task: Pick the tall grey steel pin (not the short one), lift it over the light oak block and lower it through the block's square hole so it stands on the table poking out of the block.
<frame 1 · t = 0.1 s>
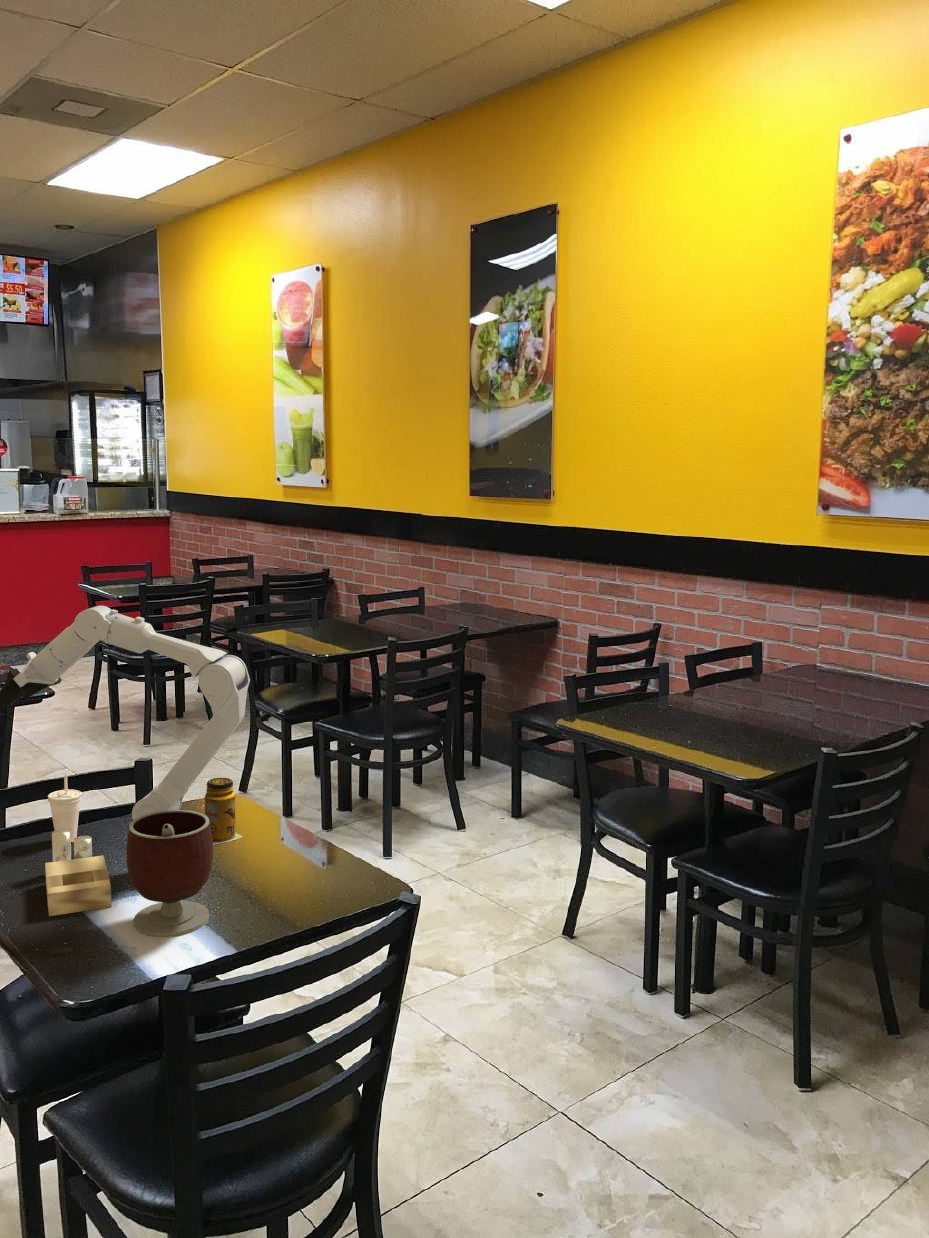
hand: (10, 699, 186), 32 cm above the table, tool tilted 50°, fingers open, 7 cm apart
condiment: (216, 838, 206), on the table
smoothie: (66, 841, 202), on the table
pin block: (77, 895, 177), on the table
tall pin: (62, 873, 186), on the table
short pin: (83, 858, 193), on the table
mate gourd: (171, 923, 168), on the table
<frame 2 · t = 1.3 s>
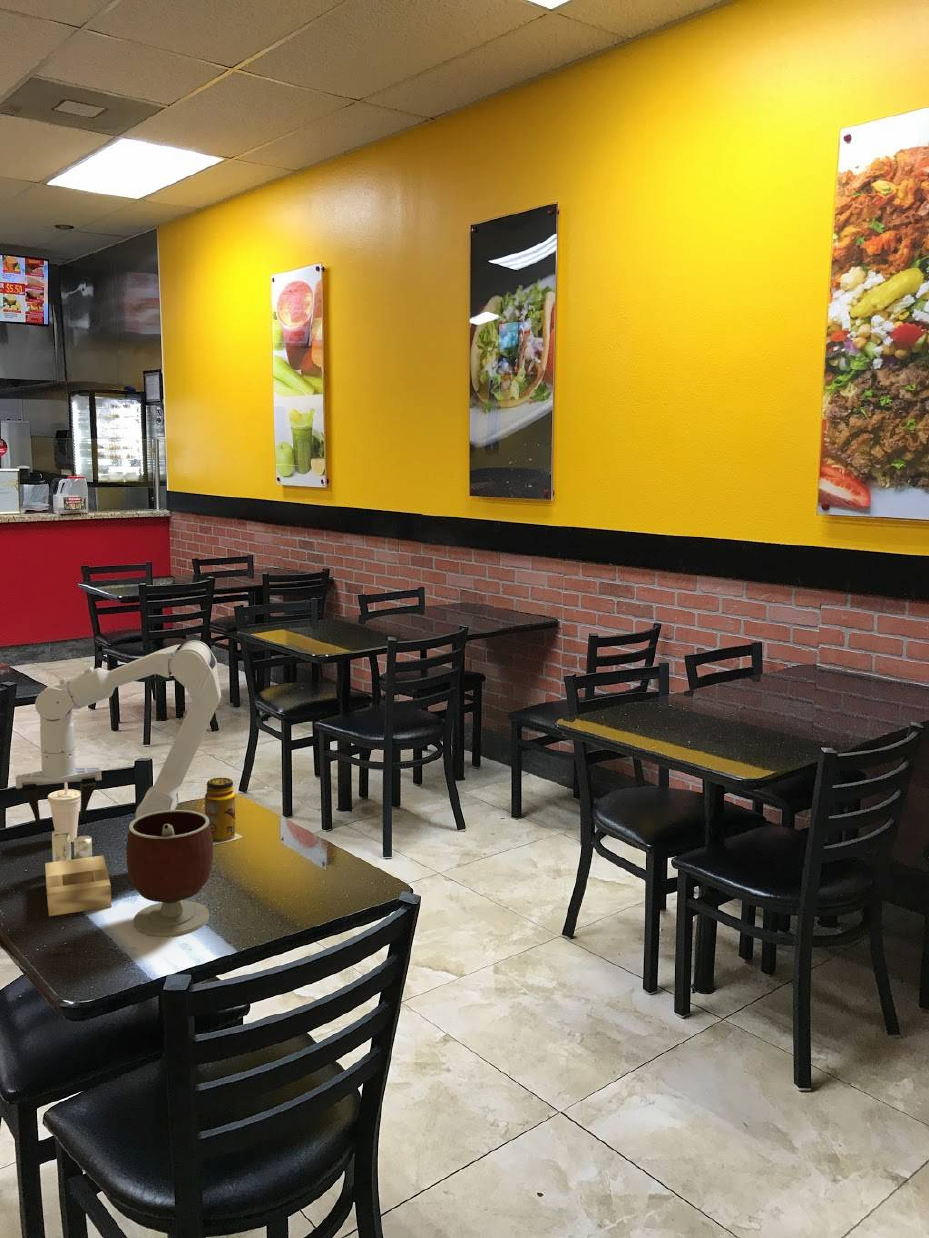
hand: (60, 820, 185), 10 cm above the table, tool pointing down, fingers open, 7 cm apart
nothing on the table moved.
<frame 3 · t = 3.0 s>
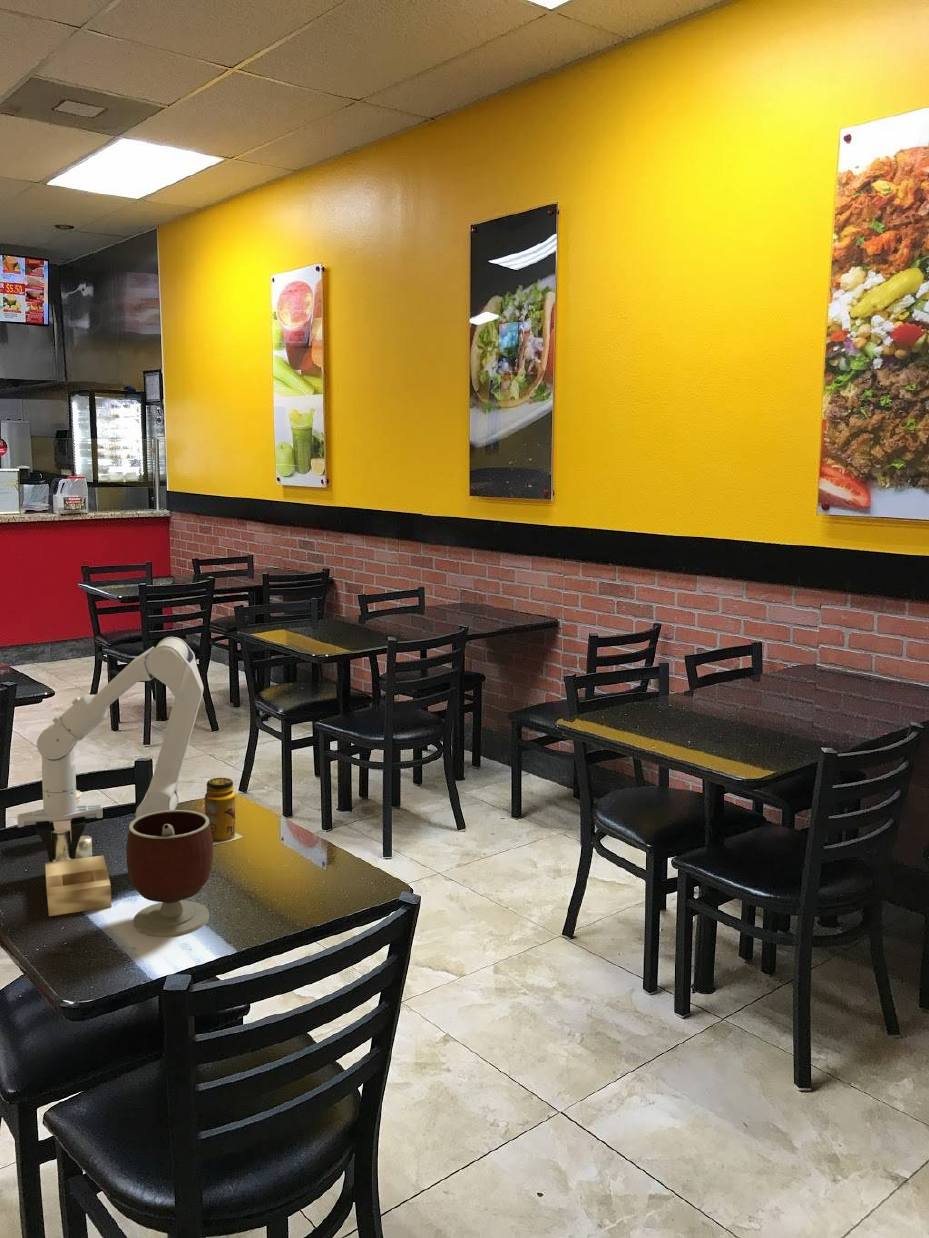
hand: (62, 858, 186), 3 cm above the table, tool pointing down, fingers closed on tall pin, 3 cm apart
tall pin: (62, 873, 186), on the table, touching gripper
everything else where it was.
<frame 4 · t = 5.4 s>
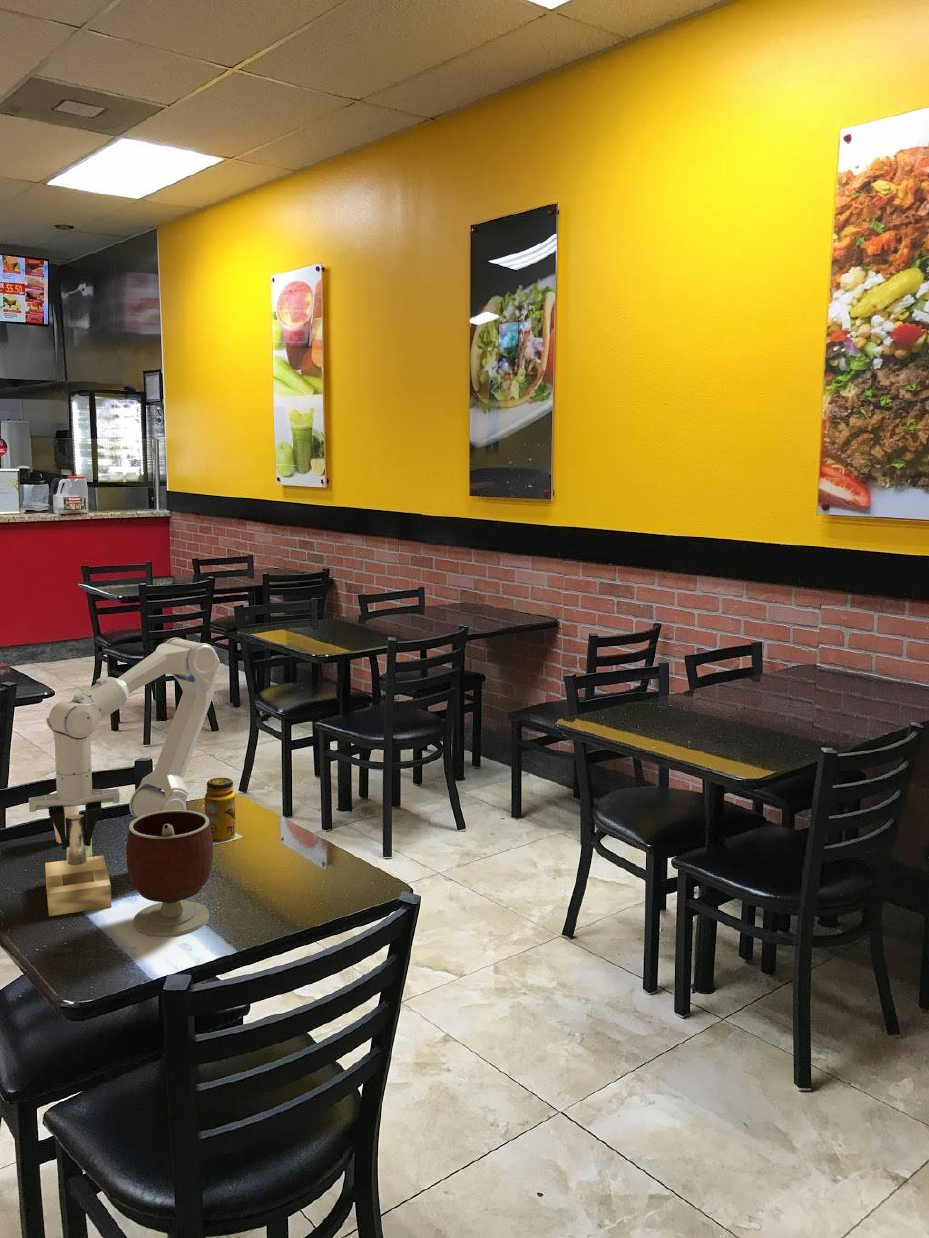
hand: (76, 845, 174), 10 cm above the table, tool pointing down, fingers closed on tall pin, 3 cm apart
tall pin: (76, 861, 174), point 7 cm above the table, touching gripper
everything else where it was.
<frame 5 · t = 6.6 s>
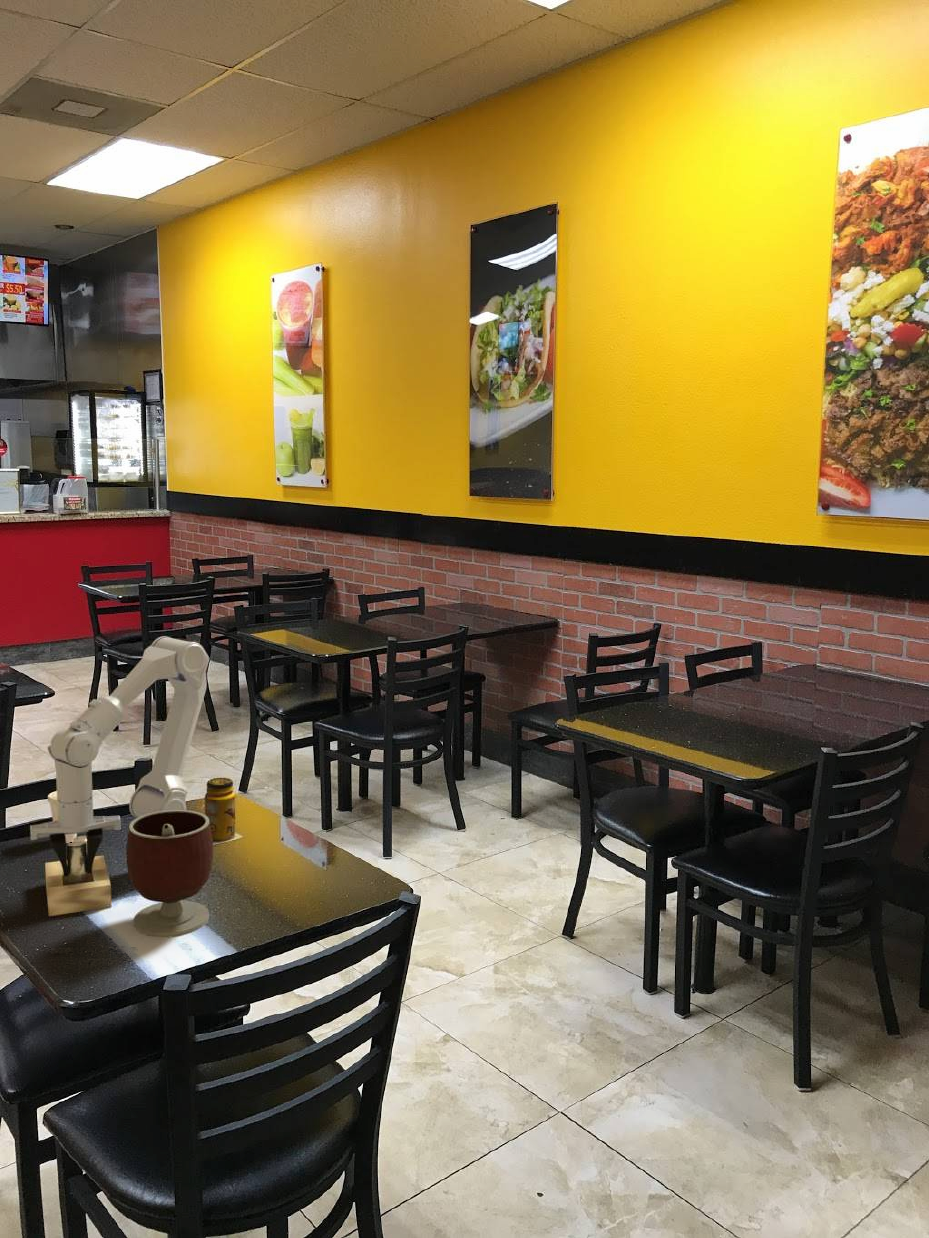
hand: (77, 872, 175), 5 cm above the table, tool pointing down, fingers closed on tall pin, 3 cm apart
tall pin: (78, 888, 175), point 2 cm above the table, touching gripper
everything else where it was.
when the fingers open (5 cm above the table, at t = 7.6 s): tall pin drops 2 cm, resting in pin block.
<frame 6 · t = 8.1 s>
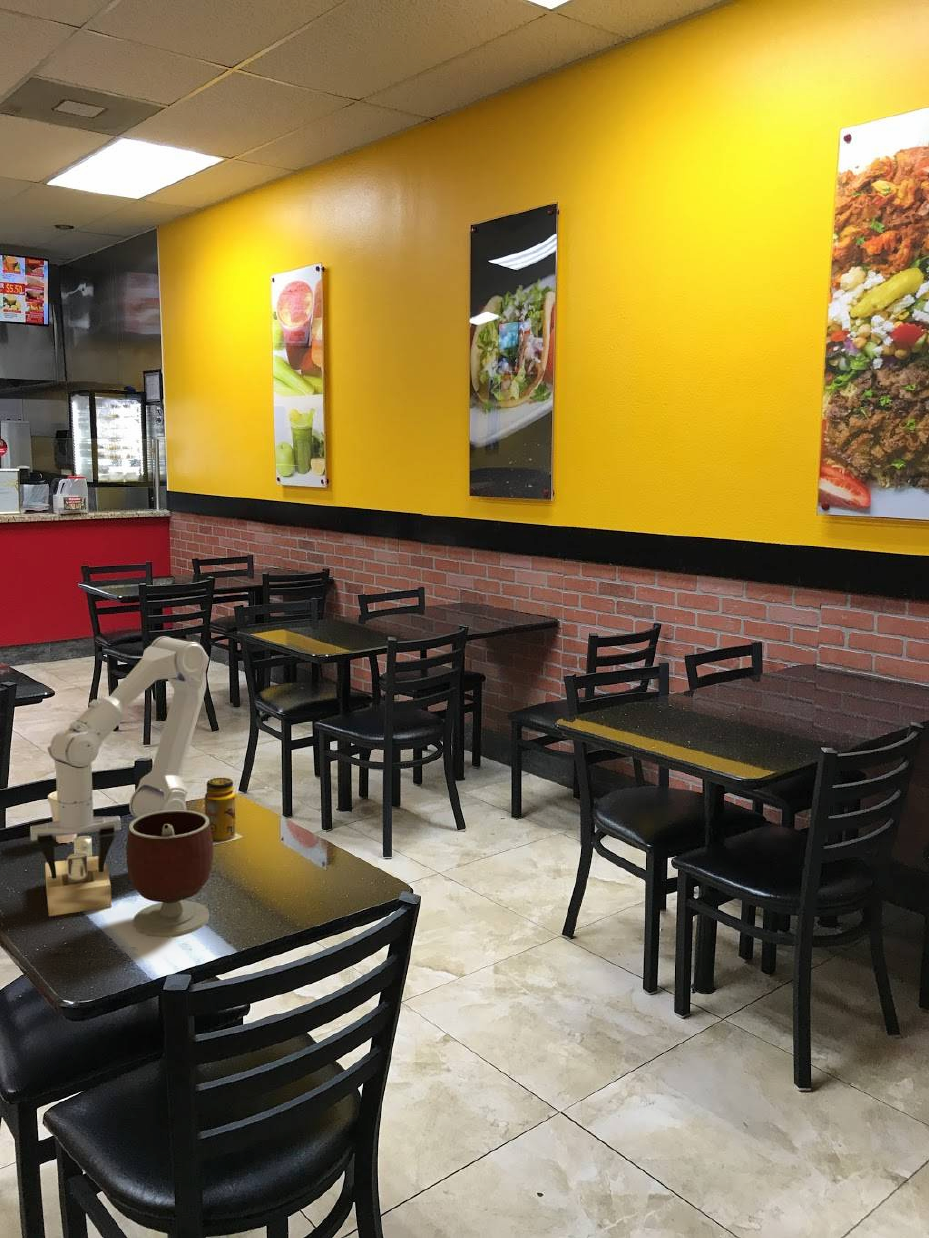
hand: (77, 873, 175), 5 cm above the table, tool pointing down, fingers open, 7 cm apart
tall pin: (78, 899, 175), resting in pin block
everything else where it was.
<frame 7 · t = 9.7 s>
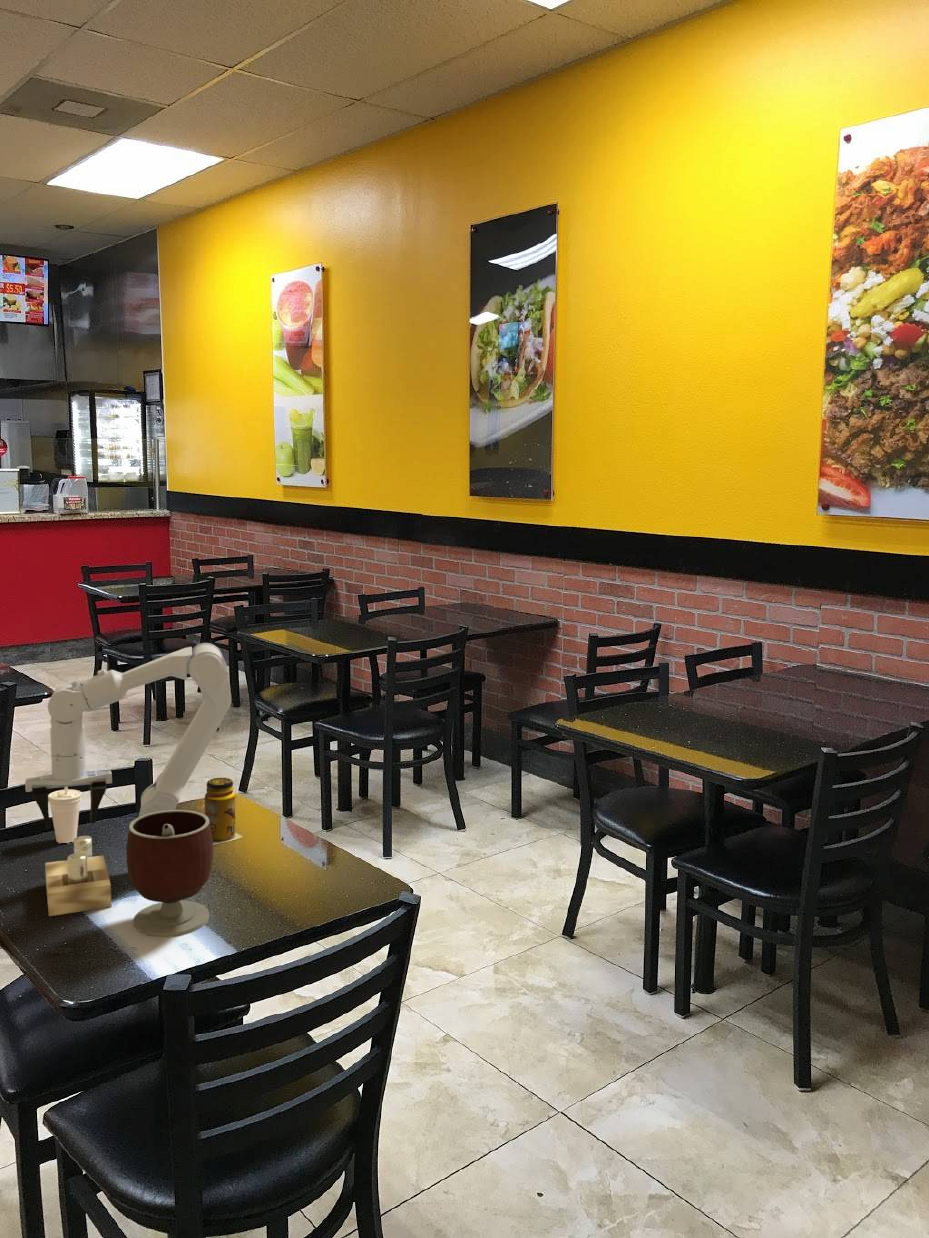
hand: (70, 824, 183), 10 cm above the table, tool pointing down, fingers open, 7 cm apart
nothing on the table moved.
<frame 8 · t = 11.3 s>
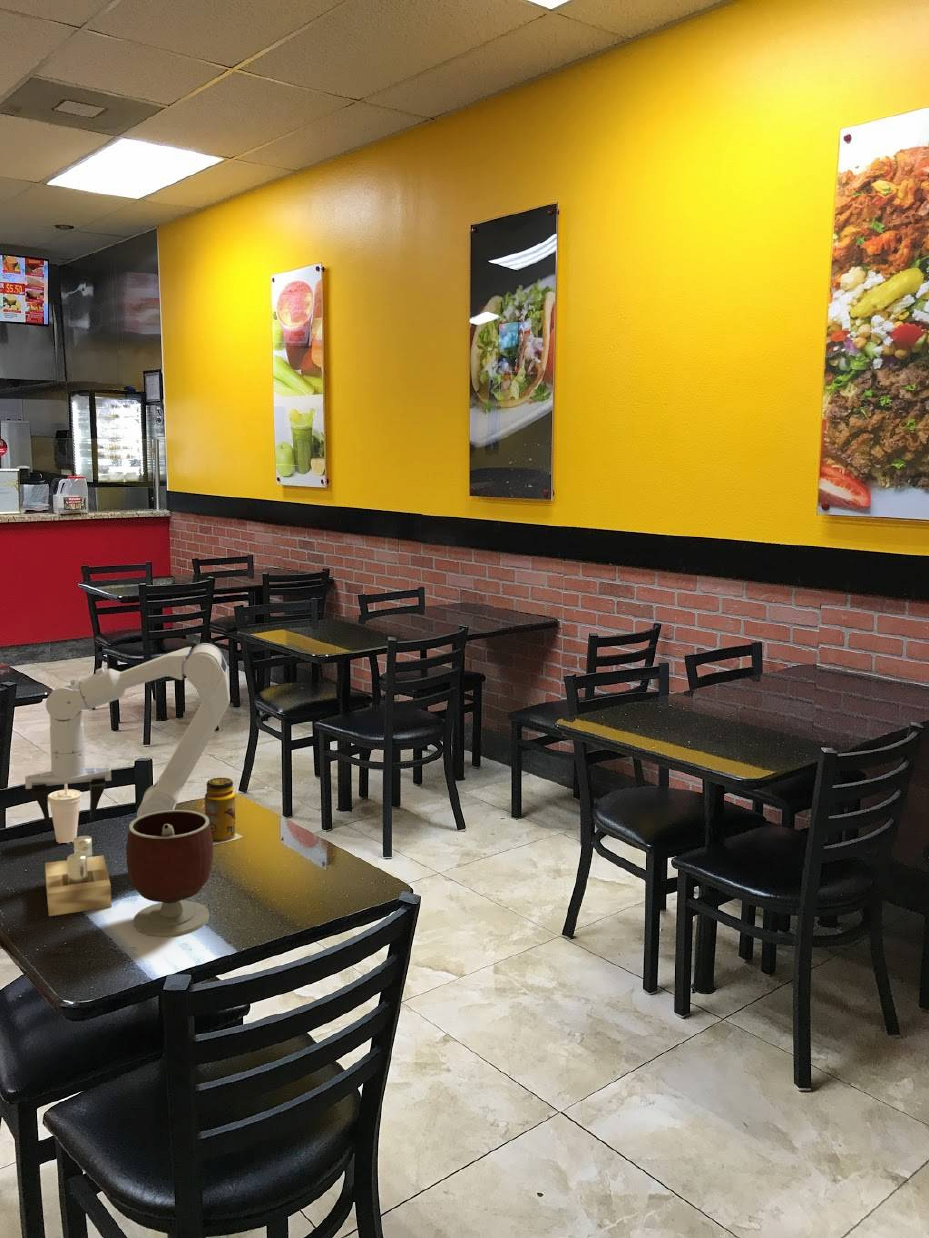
hand: (70, 821, 184), 10 cm above the table, tool pointing down, fingers open, 7 cm apart
nothing on the table moved.
at the end: tall pin 0.1 cm from the target spot on the pin block, point 0.0 cm above the pin block's base; tall pin tilted 0°; short pin moved 0.1 cm from its start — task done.
